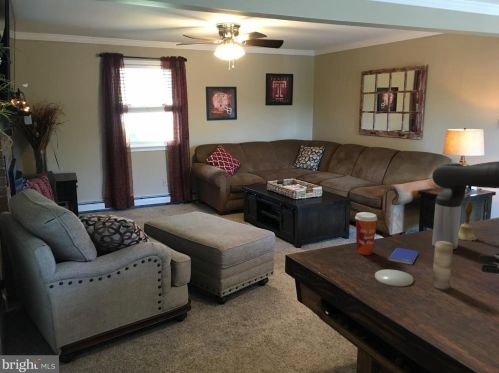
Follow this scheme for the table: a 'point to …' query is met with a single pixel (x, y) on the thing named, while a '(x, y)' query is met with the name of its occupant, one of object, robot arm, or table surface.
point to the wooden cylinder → (442, 265)
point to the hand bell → (467, 225)
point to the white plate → (394, 277)
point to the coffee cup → (365, 232)
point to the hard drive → (403, 256)
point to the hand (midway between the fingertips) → (480, 262)
